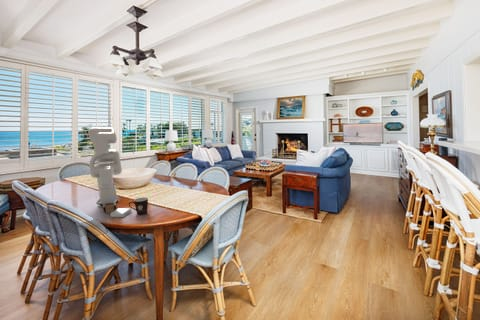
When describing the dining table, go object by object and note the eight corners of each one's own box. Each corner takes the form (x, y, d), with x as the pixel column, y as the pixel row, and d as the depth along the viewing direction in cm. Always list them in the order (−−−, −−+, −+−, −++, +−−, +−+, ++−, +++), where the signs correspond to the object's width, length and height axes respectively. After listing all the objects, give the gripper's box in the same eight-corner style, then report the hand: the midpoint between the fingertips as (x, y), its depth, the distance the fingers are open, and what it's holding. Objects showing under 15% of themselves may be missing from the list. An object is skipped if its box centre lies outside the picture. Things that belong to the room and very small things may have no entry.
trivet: (110, 216, 149) (110, 213, 148) (118, 211, 158) (118, 208, 157) (123, 217, 148) (123, 213, 148) (131, 211, 157) (130, 208, 157)
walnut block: (105, 211, 158) (104, 203, 157) (113, 210, 161) (112, 202, 160) (106, 214, 154) (105, 205, 153) (114, 212, 157) (113, 204, 156)
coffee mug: (151, 211, 156) (150, 197, 155) (143, 216, 148) (141, 201, 147) (137, 210, 160) (136, 196, 158) (128, 215, 152) (127, 200, 150)
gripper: (120, 182, 162) (122, 207, 165) (92, 186, 153) (95, 212, 156) (121, 185, 156) (124, 210, 159) (92, 189, 147) (95, 216, 149)
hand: (109, 211), depth 157 cm, fingers closed on walnut block, 5 cm apart
